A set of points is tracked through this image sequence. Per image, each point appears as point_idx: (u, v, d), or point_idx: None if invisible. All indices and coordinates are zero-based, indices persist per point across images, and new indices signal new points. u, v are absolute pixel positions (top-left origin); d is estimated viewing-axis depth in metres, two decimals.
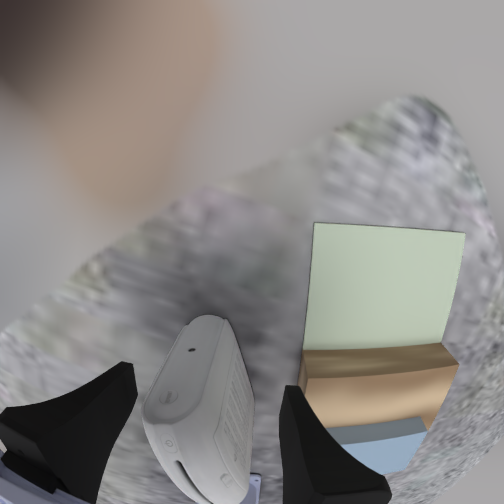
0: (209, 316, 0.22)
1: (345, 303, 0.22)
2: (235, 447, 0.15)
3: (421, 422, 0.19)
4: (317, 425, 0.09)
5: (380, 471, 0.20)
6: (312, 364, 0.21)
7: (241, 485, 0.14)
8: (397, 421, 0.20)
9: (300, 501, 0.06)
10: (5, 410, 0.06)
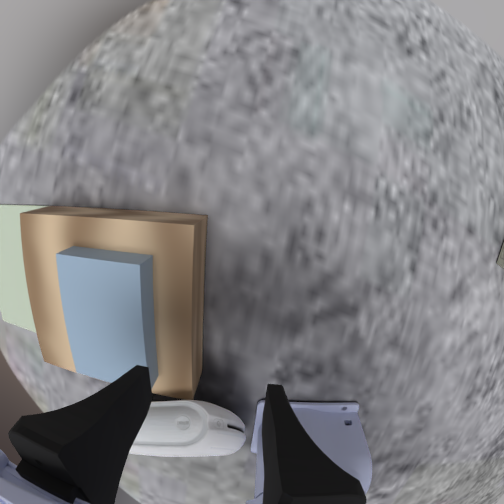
0: None
1: (30, 307, 0.23)
2: None
3: (66, 251, 0.17)
4: (295, 425, 0.09)
5: (131, 310, 0.16)
6: None
7: None
8: None
9: (273, 501, 0.06)
10: (21, 419, 0.06)
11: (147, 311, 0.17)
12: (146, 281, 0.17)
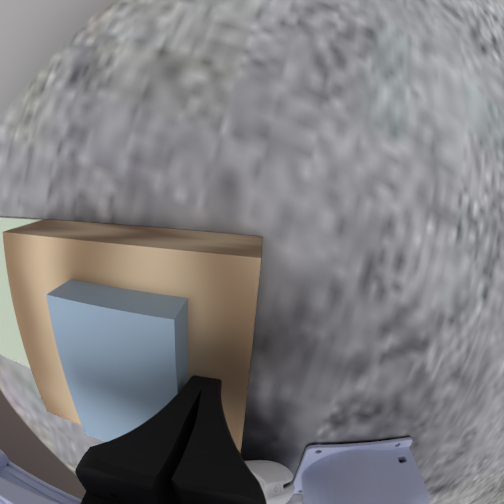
0: None
1: None
2: None
3: (61, 288, 0.12)
4: (218, 418, 0.09)
5: (161, 377, 0.11)
6: None
7: None
8: None
9: None
10: (91, 451, 0.06)
11: (182, 374, 0.12)
12: (181, 337, 0.11)
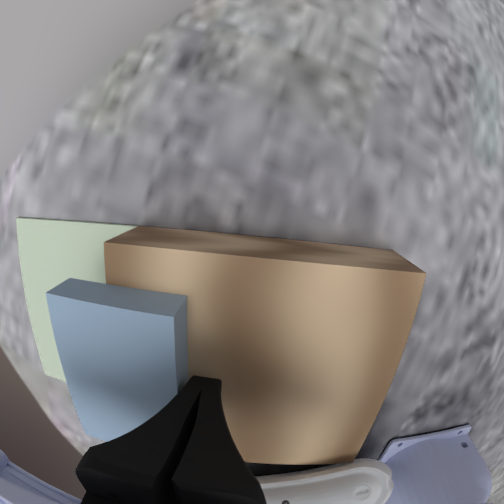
0: None
1: None
2: None
3: (61, 286, 0.12)
4: (218, 418, 0.09)
5: (160, 375, 0.11)
6: None
7: None
8: None
9: None
10: (91, 452, 0.06)
11: (181, 372, 0.12)
12: (180, 334, 0.11)
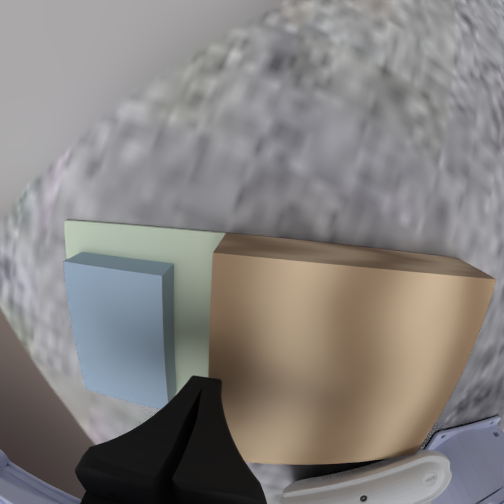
0: None
1: None
2: None
3: (167, 273, 0.15)
4: (218, 418, 0.09)
5: None
6: None
7: None
8: (163, 319, 0.15)
9: None
10: (91, 451, 0.06)
11: None
12: None
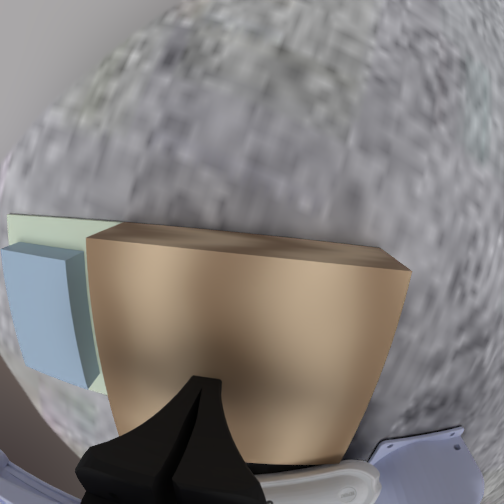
0: None
1: None
2: None
3: (73, 259, 0.15)
4: (218, 418, 0.09)
5: None
6: None
7: None
8: (70, 300, 0.15)
9: None
10: (91, 451, 0.06)
11: None
12: None
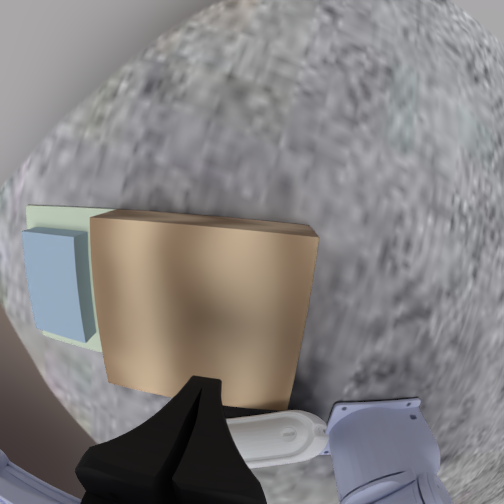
0: None
1: None
2: None
3: (79, 236, 0.20)
4: (218, 419, 0.09)
5: None
6: None
7: None
8: (76, 267, 0.20)
9: None
10: (91, 451, 0.06)
11: None
12: None
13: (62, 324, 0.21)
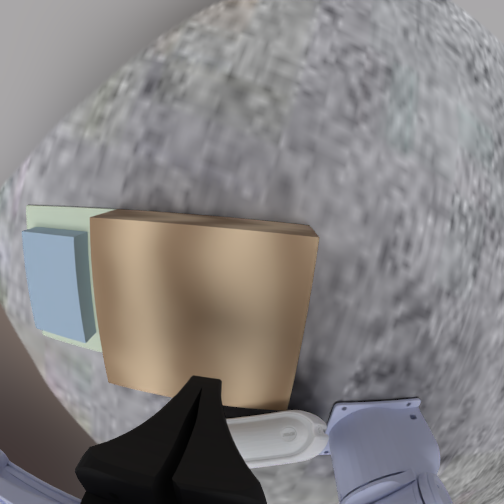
0: None
1: None
2: None
3: (79, 236, 0.20)
4: (218, 419, 0.09)
5: None
6: None
7: None
8: (76, 267, 0.20)
9: None
10: (91, 451, 0.06)
11: None
12: None
13: (62, 324, 0.21)
